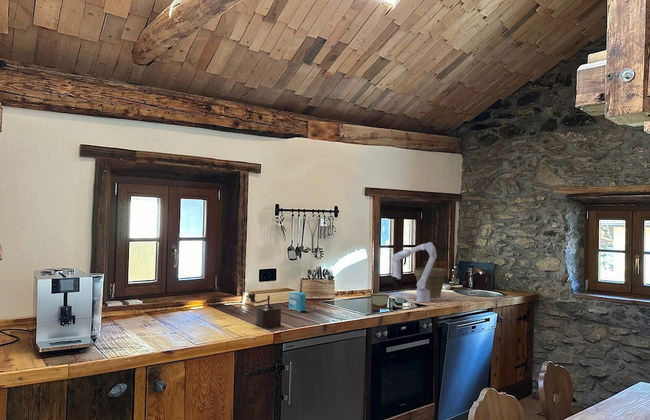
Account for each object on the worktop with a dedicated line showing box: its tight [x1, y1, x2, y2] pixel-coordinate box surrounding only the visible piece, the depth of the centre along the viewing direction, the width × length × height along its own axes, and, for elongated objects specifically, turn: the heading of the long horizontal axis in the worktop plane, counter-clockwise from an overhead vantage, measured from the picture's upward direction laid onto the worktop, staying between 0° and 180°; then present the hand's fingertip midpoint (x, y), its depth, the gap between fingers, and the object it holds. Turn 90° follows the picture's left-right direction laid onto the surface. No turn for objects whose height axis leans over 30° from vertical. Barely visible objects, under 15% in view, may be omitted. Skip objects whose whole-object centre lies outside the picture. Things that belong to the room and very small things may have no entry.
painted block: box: [394, 295, 405, 304], centre depth 344 cm, size 5×7×4 cm
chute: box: [390, 298, 418, 308], centre depth 336 cm, size 14×26×2 cm, turn 4°
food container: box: [370, 292, 390, 310], centre depth 319 cm, size 12×6×10 cm, turn 84°
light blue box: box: [288, 291, 307, 312], centre depth 306 cm, size 12×4×12 cm, turn 43°
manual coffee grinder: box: [248, 292, 282, 328], centre depth 261 cm, size 16×11×18 cm
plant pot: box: [413, 267, 447, 299], centre depth 374 cm, size 25×25×22 cm
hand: (396, 287), depth 352 cm, fingers open, 7 cm apart
